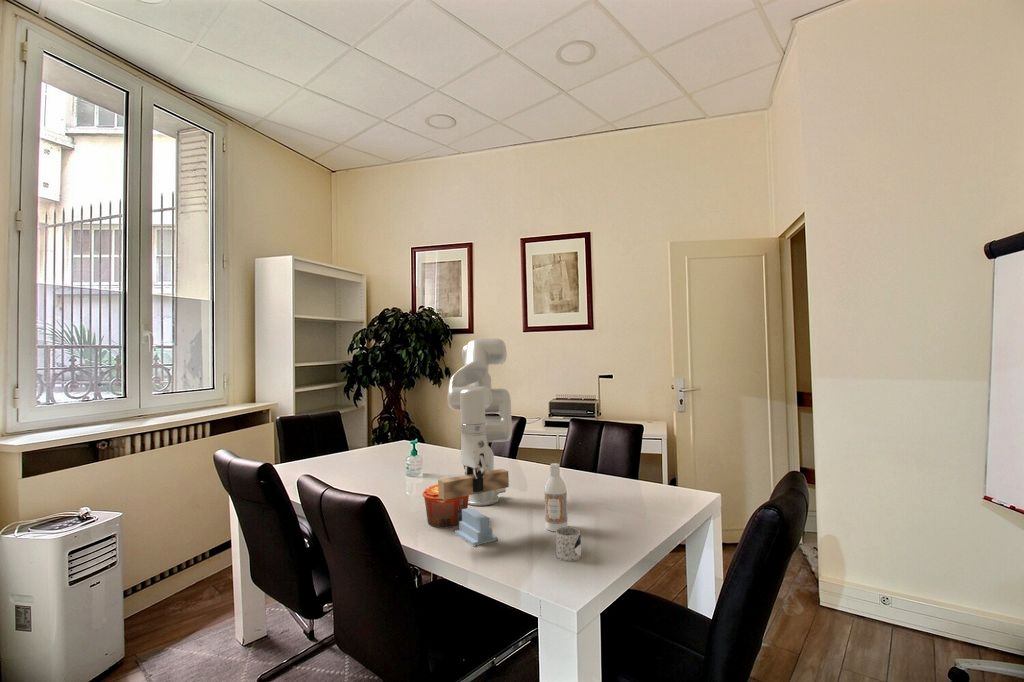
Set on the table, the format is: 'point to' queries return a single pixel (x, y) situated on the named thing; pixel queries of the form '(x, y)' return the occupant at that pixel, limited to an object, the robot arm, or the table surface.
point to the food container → (443, 508)
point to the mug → (568, 544)
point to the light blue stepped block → (475, 527)
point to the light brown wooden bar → (471, 484)
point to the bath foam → (555, 500)
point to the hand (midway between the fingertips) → (474, 489)
